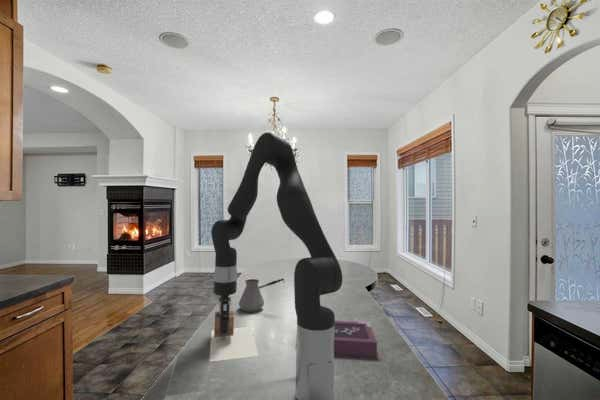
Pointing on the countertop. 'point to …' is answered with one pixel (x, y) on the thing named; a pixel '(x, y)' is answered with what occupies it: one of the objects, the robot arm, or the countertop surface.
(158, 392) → the countertop surface
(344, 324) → the book
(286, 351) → the countertop surface
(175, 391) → the countertop surface
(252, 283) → the coffee pot
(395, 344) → the countertop surface
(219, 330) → the brown wooden hollow cube
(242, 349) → the board
